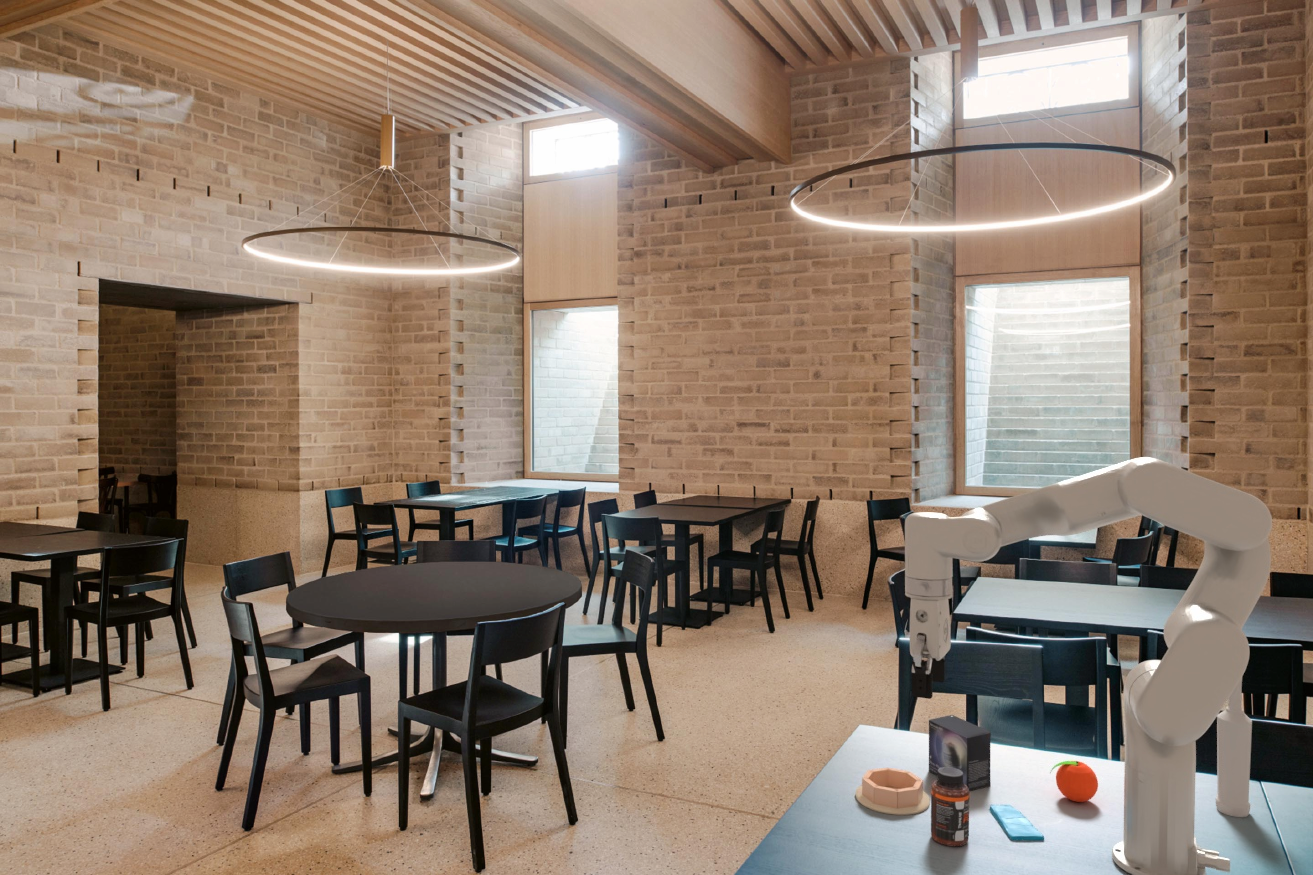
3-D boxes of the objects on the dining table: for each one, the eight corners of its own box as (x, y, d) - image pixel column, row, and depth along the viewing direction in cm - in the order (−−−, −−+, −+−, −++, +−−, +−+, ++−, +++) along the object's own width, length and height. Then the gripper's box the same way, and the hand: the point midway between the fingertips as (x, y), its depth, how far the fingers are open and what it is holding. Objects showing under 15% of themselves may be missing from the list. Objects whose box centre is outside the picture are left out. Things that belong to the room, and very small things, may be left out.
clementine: (1053, 805, 160) (1053, 766, 160) (1046, 789, 167) (1046, 751, 167) (1102, 810, 158) (1102, 770, 158) (1092, 793, 165) (1093, 755, 165)
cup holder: (936, 792, 166) (936, 773, 166) (921, 820, 154) (921, 800, 154) (866, 778, 172) (866, 760, 172) (846, 805, 161) (847, 785, 160)
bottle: (1216, 813, 157) (1219, 671, 156) (1214, 802, 162) (1216, 664, 161) (1251, 820, 155) (1254, 675, 154) (1248, 808, 159) (1251, 668, 158)
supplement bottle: (971, 849, 144) (972, 780, 144) (932, 846, 146) (933, 777, 145) (966, 832, 150) (966, 765, 150) (929, 829, 151) (929, 762, 151)
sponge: (1022, 805, 159) (988, 800, 159) (1047, 837, 147) (1011, 832, 147) (1021, 813, 159) (987, 809, 159) (1046, 846, 147) (1010, 841, 147)
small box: (925, 771, 176) (926, 718, 175) (951, 765, 178) (952, 713, 178) (965, 792, 166) (966, 736, 166) (992, 786, 169) (992, 730, 168)
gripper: (940, 598, 140) (940, 707, 141) (961, 580, 156) (962, 678, 156) (892, 594, 144) (893, 700, 145) (917, 576, 159) (918, 672, 160)
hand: (928, 688), depth 150 cm, fingers open, 9 cm apart
